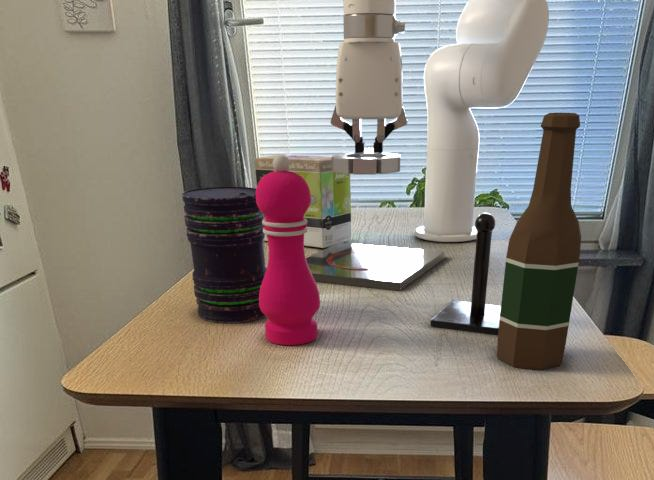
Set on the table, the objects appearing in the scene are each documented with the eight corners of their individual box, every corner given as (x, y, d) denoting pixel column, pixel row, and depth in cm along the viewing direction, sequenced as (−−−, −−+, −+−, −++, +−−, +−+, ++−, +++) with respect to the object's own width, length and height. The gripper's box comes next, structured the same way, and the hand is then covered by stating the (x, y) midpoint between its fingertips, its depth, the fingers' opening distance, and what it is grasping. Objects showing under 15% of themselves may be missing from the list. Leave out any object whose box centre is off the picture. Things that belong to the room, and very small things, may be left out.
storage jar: (182, 318, 88) (164, 196, 80) (222, 298, 95) (209, 185, 88) (248, 326, 84) (236, 200, 77) (284, 305, 92) (276, 188, 85)
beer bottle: (486, 347, 78) (509, 111, 65) (552, 344, 78) (587, 110, 66) (505, 372, 71) (534, 115, 59) (576, 369, 72) (619, 114, 59)
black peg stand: (452, 305, 92) (458, 204, 85) (521, 313, 88) (533, 209, 82) (430, 326, 84) (435, 217, 78) (504, 335, 81) (517, 222, 74)
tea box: (353, 240, 129) (352, 155, 121) (323, 250, 121) (320, 160, 114) (290, 232, 136) (286, 151, 128) (259, 241, 128) (252, 156, 121)
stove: (339, 249, 122) (339, 241, 122) (444, 258, 115) (445, 250, 115) (280, 277, 105) (280, 269, 104) (399, 290, 98) (400, 281, 98)
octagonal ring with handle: (399, 174, 95) (400, 159, 94) (329, 174, 95) (329, 158, 94) (400, 161, 109) (400, 148, 108) (339, 161, 110) (339, 148, 109)
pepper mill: (312, 349, 77) (304, 158, 67) (253, 345, 79) (236, 157, 68) (327, 329, 84) (322, 151, 73) (272, 325, 85) (259, 151, 74)
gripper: (422, 32, 100) (417, 167, 110) (318, 33, 101) (322, 167, 111) (423, 29, 94) (418, 172, 103) (312, 30, 95) (317, 172, 104)
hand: (368, 168), depth 107 cm, fingers closed on octagonal ring with handle, 1 cm apart
